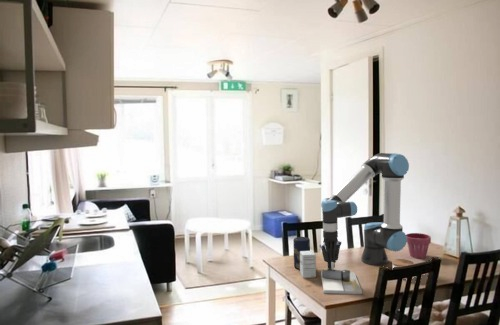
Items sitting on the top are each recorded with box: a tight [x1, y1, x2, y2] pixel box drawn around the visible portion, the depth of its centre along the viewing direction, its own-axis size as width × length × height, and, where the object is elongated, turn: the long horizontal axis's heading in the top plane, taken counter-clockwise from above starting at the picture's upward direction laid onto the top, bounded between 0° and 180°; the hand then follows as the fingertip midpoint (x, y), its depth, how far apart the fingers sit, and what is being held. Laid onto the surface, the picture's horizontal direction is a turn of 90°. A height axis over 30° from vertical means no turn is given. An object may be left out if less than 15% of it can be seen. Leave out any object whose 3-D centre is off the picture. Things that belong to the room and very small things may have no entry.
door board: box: [320, 270, 363, 295], centre depth 203 cm, size 18×26×4 cm
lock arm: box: [321, 267, 351, 281], centre depth 205 cm, size 14×4×5 cm, turn 64°
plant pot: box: [405, 232, 432, 259], centre depth 244 cm, size 14×14×13 cm
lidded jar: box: [391, 258, 415, 269], centre depth 211 cm, size 11×11×9 cm
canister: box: [293, 236, 311, 270], centre depth 229 cm, size 10×10×18 cm
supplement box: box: [299, 250, 317, 279], centre depth 216 cm, size 7×7×13 cm
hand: (331, 274), depth 209 cm, fingers closed
